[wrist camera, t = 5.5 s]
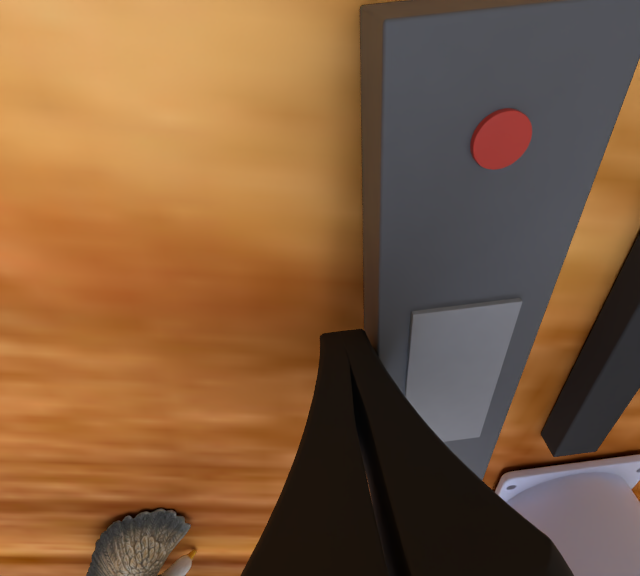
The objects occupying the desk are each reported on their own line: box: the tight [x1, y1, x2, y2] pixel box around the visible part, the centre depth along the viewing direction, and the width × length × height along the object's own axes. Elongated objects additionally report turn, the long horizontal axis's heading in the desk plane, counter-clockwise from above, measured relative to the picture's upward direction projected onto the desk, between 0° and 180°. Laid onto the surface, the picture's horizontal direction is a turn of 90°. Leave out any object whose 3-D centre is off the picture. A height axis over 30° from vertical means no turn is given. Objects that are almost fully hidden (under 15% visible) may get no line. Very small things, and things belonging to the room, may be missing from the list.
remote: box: [360, 0, 640, 480], centre depth 13 cm, size 17×4×2 cm, turn 5°
